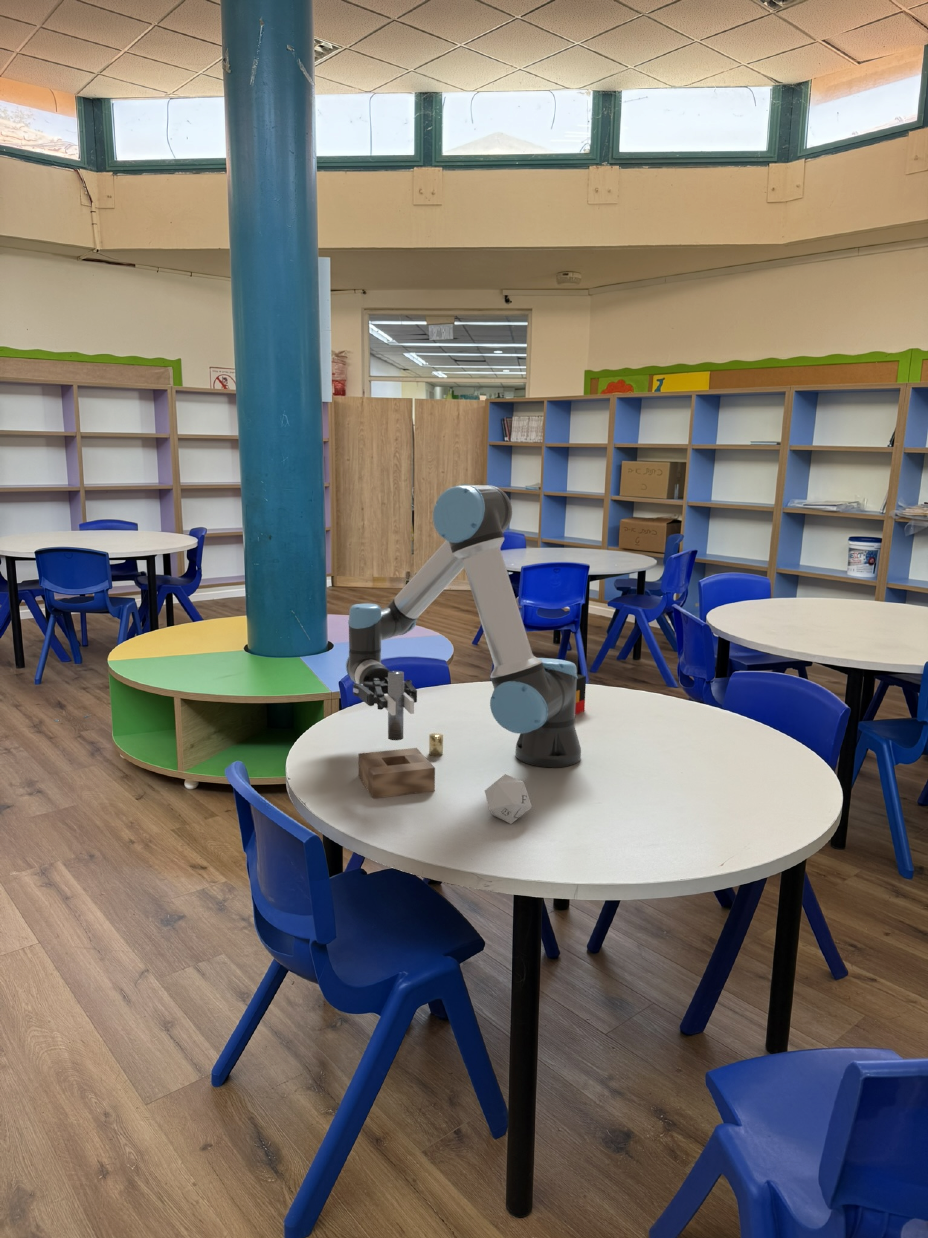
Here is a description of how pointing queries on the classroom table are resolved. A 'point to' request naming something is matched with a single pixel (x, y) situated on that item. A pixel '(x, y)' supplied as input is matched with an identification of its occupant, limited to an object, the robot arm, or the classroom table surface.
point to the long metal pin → (398, 696)
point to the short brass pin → (435, 744)
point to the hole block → (396, 772)
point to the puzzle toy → (580, 694)
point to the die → (508, 798)
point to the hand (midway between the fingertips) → (403, 708)
